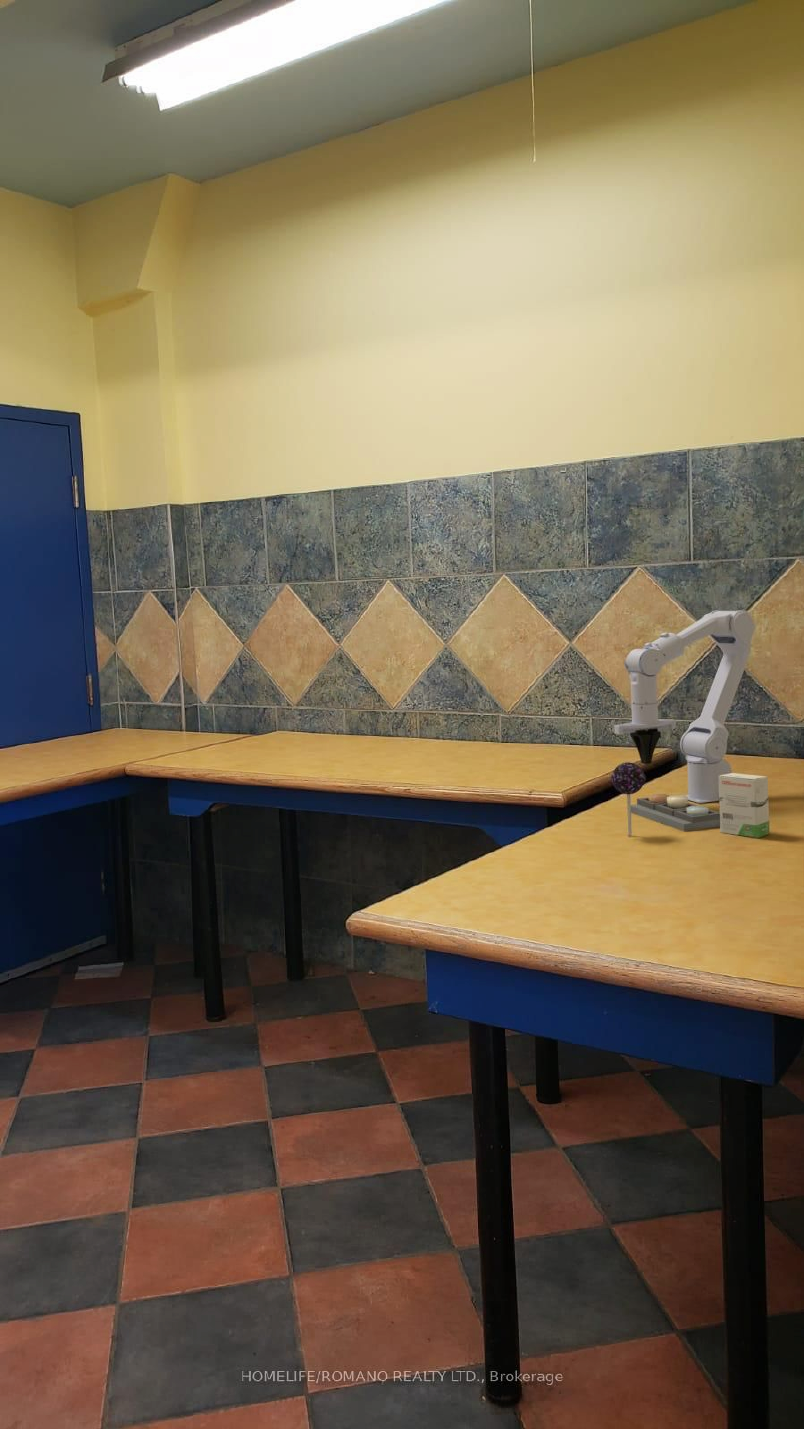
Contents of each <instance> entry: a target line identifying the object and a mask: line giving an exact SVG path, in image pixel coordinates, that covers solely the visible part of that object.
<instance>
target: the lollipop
mask: <svg viewBox="0 0 804 1429" xmlns="http://www.w3.org/2000/svg"><path fill="white" fill-rule="evenodd" d="M614 768H615V769H613V772H612V774H611V775H610V781H611V783H612V784H613V787H614V788H615V789H616V791H618V792H619V793H621V794H623V795H626V804H627V806H626V807H627V809H626V810H627V830H628V831H627V834H628V837H632V813H631V805H632V803H631V795H633V794H636V793H638V792H639V791H640V790H642V788H643V786H644V784H645V782H646V779H647V778H646V774H645V773H644V771H643V769H642V767H641V766H639V765H638V764H636V763H634V762H630V761H627V762H623V763H620V764H618V765H617V766H616V767H614Z"/></svg>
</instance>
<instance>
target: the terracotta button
mask: <svg viewBox="0 0 804 1429" xmlns="http://www.w3.org/2000/svg"><path fill="white" fill-rule="evenodd" d="M668 796H670V795H669V794H665V793H654V794H649V795H648V797H649V801H650V802H653V803H659V802H667V797H668Z"/></svg>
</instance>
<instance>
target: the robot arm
mask: <svg viewBox="0 0 804 1429" xmlns="http://www.w3.org/2000/svg"><path fill="white" fill-rule="evenodd" d="M756 628H757V626H756V624H755V622H754V619H753V617H752V614H751V613H749V611H748V610H745V609H741V610H740V609H739V610H719V609H716V610H712V611H711V612H709V613H707V614H704V615H703V616H702V617H701V618H700V619H698V620H697V621H696V622H694V623H692V624H691V625H689V626H688V627H686V628H685V629H683V630H682V631H680V632H678V633H677V634H676V633H674V632H663V633H661V634H660V636H659V638H657V639H656V640H653V642H652V641H651V642H646V643H645V644H644V646H643V647H642V648H635V649H632V650H631V651H630V652H628V655H627V656H626V658H625V661H624V663H623V664H624V669H625V670H626V672H627V673H628V678H629V679H628V680H630V701H631V702H630V703H631V722H626V723H622V724H621V723H620V724H614V725H613V729H614V732H613V733H614V735H624V734H629V735H630V737H631V739H632V741H633V742H634V745H635V747H636V750H637V752H638V755H639V759H640V763H641V764H645V765H650V764H652V762H653V756H654V752H655V750H656V746H657V744H658V742H659V740H660V738H661V737H662V732H661V731H659V730H668V729H670V730H674V729H677V726H676V723H677V722H676V719H671V718H670V719H669V718H668V719H667V718H666V719H659V706H658V704H659V703H658V674H659V673H660V671H661V670H662V668H663V666H665V665H666V664H669V663H671V662H672V661H673V660H676V659H678V658H680V657H681V656H683V654H684V651H685V648H686V647H688V646H690V645H692V644H694V643H697V642H698V641H700V640H703V639H705V638H706V637H709V636H710V637H711V639H712V640H713V641H714V642H715V644H716V645H717V646H718V648H719V649H721V652H722V654H723V656H722V658H721V660H720V662H719V665H718V669H717V671H716V674H715V675H714V676H715V677H714V679H713V681H712V684H711V687H710V690H709V692H708V695H707V698H706V700H705V703H704V706H703V708H702V711H701V714H700V716H699V717H698V718H696V719H694V720H693V721H692V722H691V723H690V724H689V727H688V728H687V730H686V731H685V732H684V733H683V735H682V736H681V737H680V741H679V747H680V751H681V753H682V754H683V755H684V756H685V760H686V761H687V762H686V763H687V793H688V794H683V795H682V794H681V796H687V797H688V801H691V802H693V803H697V804H705V803H710V802H711V803H712V802H719V776H720V775H724V774H730V773H733V772H732V771H733V770H732V767H731V764H730V763H729V761H727V760H726V759H724V757H725V755H726V753H727V749H728V738H729V736H730V733H729V731H728V729H727V728H726V727H725V723H726V722H725V721H726V719H727V717H728V715H729V711H730V708H731V706H732V703H733V700H734V698H735V695H736V693H737V690H738V688H739V685H740V682H741V679H742V677H743V673H744V672H745V669H746V667H747V666H746V665H747V664H748V662H749V658H750V656H751V646H752V638H753V635H754V632H755V630H756Z"/></svg>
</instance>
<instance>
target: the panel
mask: <svg viewBox="0 0 804 1429" xmlns="http://www.w3.org/2000/svg"><path fill="white" fill-rule="evenodd" d="M689 806H698V805H697V804H693V803H690V802H688V807H689ZM708 809H709V814H703V815H696V816H693V815H690V814H687V807H684V808H671V807H668V806H667V802H659V803H653V802H650V801H649V796H647V797H642V798H636V803H635V804H631V814H633V815H638V816H639V817H642V818H645V819H648V820H651V821H654V822H657V823H660V824H663V825H664V826H665V825H666V826H668V827H671V828H673V829H675V830H676V829H677V830H679V831H682V832H689V831H696V830H697V831H698V830H705V829H710V828H718V827H719V828H720V811H716V810H714V809H710V808H708Z"/></svg>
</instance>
